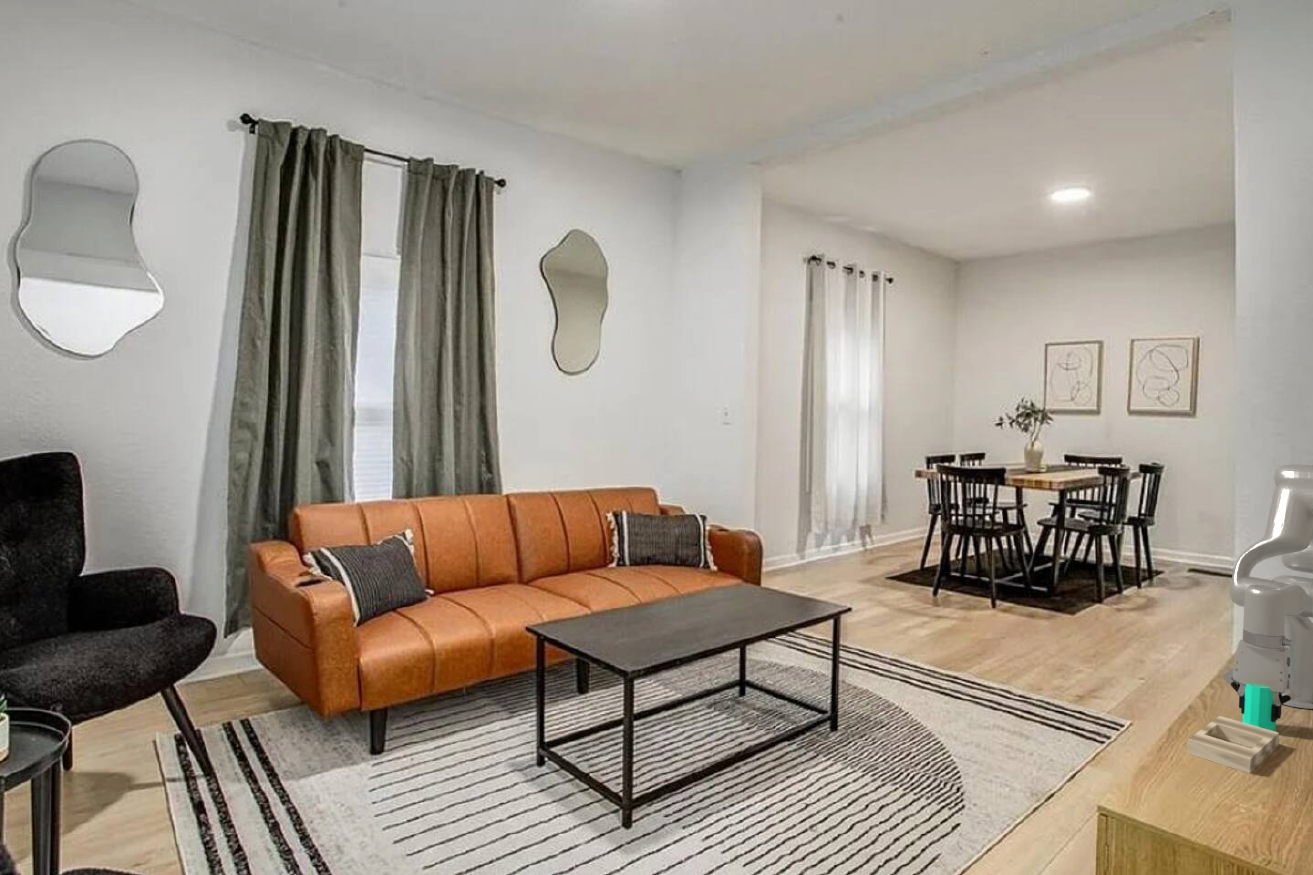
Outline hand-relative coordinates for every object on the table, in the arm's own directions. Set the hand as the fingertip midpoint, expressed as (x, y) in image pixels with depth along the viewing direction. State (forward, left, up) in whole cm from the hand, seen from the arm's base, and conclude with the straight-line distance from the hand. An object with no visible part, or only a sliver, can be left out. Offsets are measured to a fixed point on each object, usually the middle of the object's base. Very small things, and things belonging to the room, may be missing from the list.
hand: (1259, 715), depth 176 cm
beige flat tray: (+18, 0, -3) cm, 18 cm away
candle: (0, 0, -3) cm, 3 cm away
